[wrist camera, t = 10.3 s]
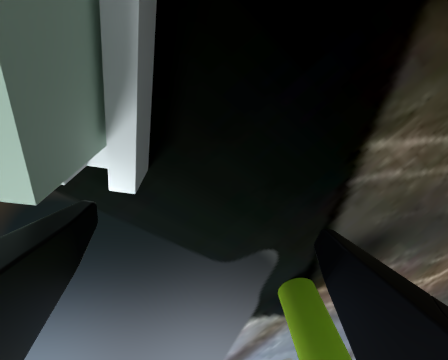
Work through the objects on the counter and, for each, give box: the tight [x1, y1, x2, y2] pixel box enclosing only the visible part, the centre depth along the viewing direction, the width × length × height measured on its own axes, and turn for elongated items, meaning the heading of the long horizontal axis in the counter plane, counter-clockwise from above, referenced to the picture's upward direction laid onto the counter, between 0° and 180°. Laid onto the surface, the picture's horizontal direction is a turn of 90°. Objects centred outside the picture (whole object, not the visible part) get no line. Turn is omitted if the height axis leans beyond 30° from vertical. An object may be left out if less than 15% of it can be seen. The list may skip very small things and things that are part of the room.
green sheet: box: [0, 0, 107, 205], centre depth 11 cm, size 2×10×10 cm, turn 167°
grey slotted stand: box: [62, 0, 157, 194], centre depth 15 cm, size 7×16×4 cm, turn 168°
